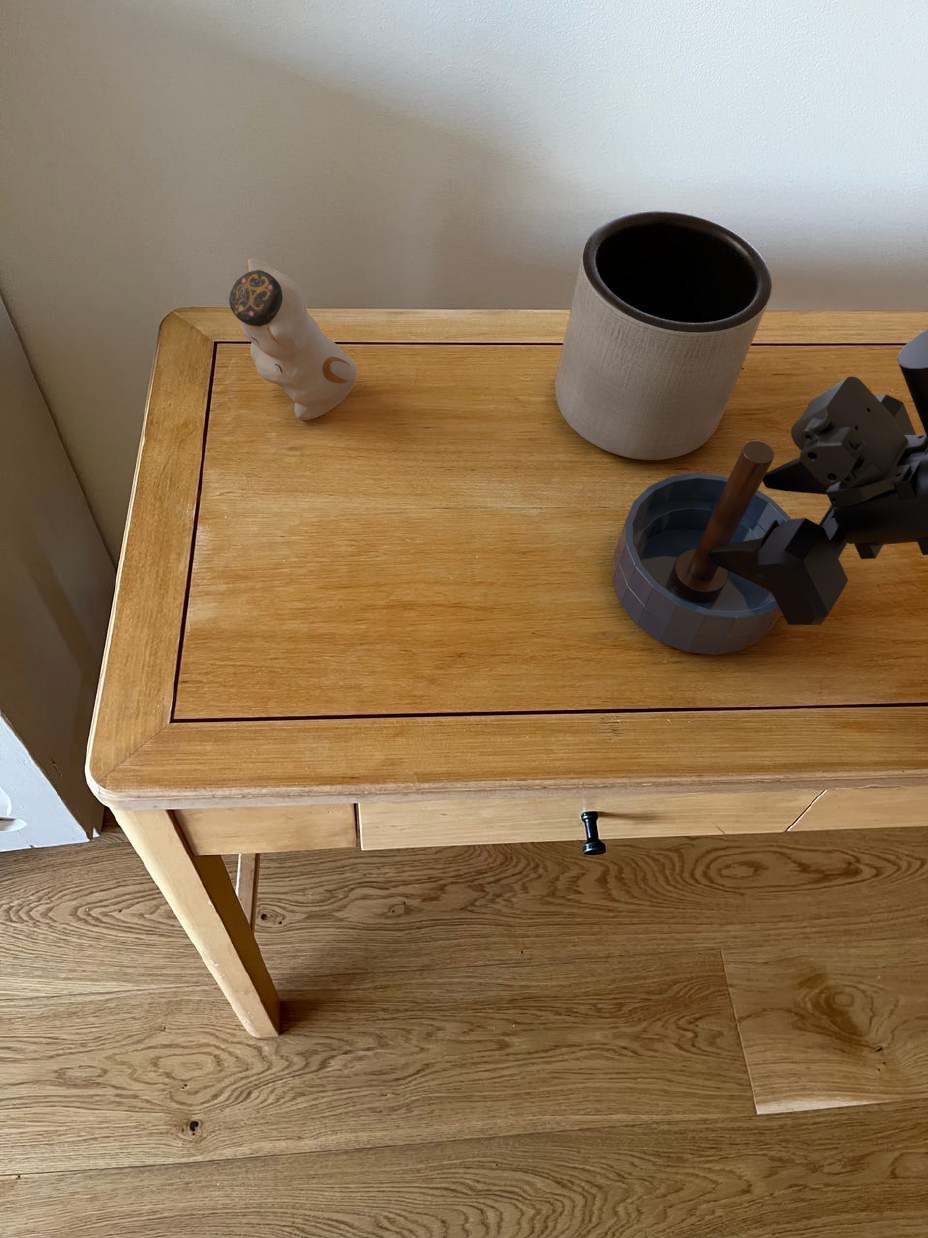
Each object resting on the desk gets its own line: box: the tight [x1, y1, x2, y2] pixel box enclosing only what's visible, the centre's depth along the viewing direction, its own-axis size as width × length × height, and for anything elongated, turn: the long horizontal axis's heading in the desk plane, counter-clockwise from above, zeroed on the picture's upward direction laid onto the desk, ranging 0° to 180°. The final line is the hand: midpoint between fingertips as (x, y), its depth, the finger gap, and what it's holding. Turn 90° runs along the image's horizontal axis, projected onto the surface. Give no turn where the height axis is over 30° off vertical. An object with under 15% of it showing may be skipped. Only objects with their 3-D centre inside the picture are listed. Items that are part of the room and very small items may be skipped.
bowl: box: [611, 472, 792, 656], centre depth 75 cm, size 14×14×6 cm
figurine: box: [228, 257, 358, 421], centre depth 80 cm, size 9×10×15 cm
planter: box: [554, 210, 773, 461], centre depth 82 cm, size 16×16×16 cm
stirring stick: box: [670, 439, 775, 603], centre depth 71 cm, size 4×4×16 cm
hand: (738, 517), depth 70 cm, fingers open, 9 cm apart
